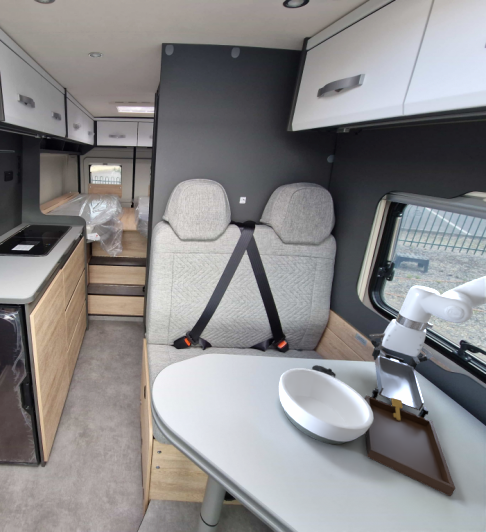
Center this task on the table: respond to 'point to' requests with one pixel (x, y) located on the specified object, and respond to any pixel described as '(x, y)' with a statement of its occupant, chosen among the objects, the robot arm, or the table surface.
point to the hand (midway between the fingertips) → (391, 364)
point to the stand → (422, 413)
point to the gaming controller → (324, 370)
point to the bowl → (323, 406)
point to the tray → (407, 446)
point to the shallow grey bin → (398, 381)
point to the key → (397, 407)
